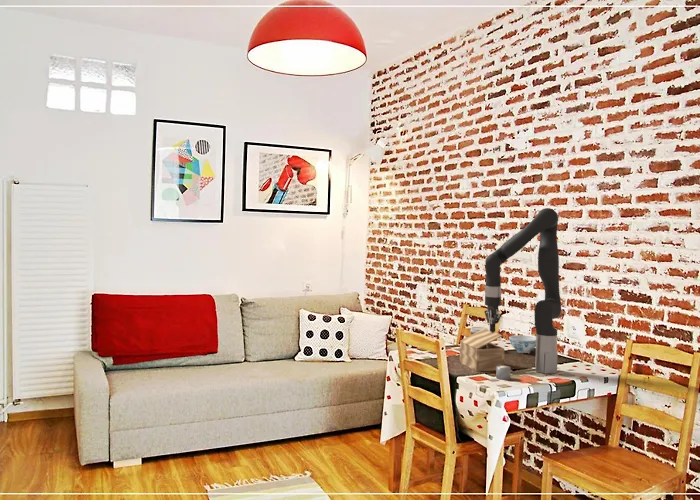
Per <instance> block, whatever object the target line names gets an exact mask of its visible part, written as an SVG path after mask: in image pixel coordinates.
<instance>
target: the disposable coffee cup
mask: <svg viewBox="0 0 700 500" xmlns="http://www.w3.org/2000/svg"><path fill="white" fill-rule="evenodd" d="M482 329H487V330H489V329H488V328H487V327H483V326H482V327H481V326H473V327H470V331H469V332H470V335H472V334H474V333H476V332H478V331H480V330H482Z"/></svg>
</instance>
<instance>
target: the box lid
mask: <svg viewBox="0 0 700 500" xmlns="http://www.w3.org/2000/svg"><path fill="white" fill-rule="evenodd" d="M487 329H488V328H487ZM487 329H482V330H480V331H478V332H476V333H474V334H472V335H471V334H469V335H468V336H467V337H465V338H462V339H461V340H459V343H460V342H461V343H464V344H466V345H468V346H470V347H472V348H475V349H479V348H481V347H483V346H485V345H486V344H488V343H492V342H495V341H496V340H498V339H500V338H501V337H503V334H500V333H498V332H496V331H495V332H490V329H488V330H487Z"/></svg>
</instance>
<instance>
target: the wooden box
mask: <svg viewBox="0 0 700 500" xmlns="http://www.w3.org/2000/svg"><path fill="white" fill-rule="evenodd" d="M459 363H460V364H462V365H464V366H465V367H467V368H470V369H471V370H473V371H475V372H486V371H488V372H489V371H490V372H491V371H496V366H500V365H503V366H505V348H503V347H501V346H499V345H497V344H494V343H492V342H490V343H488V344H486V345H485V346H483V347H481V348H479V349H475V348H472V347H470V346H468V345H466V344H464V343H461V342H460V341H459Z"/></svg>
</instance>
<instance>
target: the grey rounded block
mask: <svg viewBox="0 0 700 500" xmlns="http://www.w3.org/2000/svg"><path fill="white" fill-rule="evenodd" d="M511 370H512V369H511V366H508V365H504V366H503V365H500V366H496V370H495V373H496V374H495V379H497V380H501V381H509V380H511Z"/></svg>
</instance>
